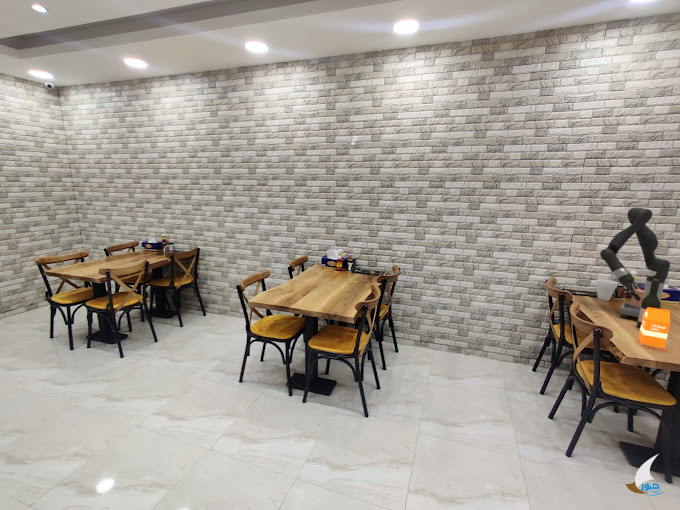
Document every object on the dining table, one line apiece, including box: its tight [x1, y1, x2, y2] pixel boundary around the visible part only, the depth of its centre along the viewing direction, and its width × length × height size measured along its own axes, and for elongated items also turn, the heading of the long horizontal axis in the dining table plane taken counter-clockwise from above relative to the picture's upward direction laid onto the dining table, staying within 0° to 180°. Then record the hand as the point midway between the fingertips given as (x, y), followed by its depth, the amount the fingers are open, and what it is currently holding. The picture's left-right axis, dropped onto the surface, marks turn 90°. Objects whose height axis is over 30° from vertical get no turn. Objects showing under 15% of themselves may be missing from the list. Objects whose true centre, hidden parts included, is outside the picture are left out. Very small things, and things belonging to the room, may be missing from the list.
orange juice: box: [638, 307, 671, 349], centre depth 169 cm, size 8×9×20 cm
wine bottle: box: [636, 279, 662, 329], centre depth 188 cm, size 8×8×30 cm
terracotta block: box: [629, 289, 647, 307], centre depth 204 cm, size 5×5×10 cm
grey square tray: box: [619, 301, 641, 319], centre depth 206 cm, size 14×14×7 cm
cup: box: [595, 278, 618, 301], centre depth 240 cm, size 12×12×14 cm
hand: (641, 299), depth 202 cm, fingers closed on terracotta block, 4 cm apart
